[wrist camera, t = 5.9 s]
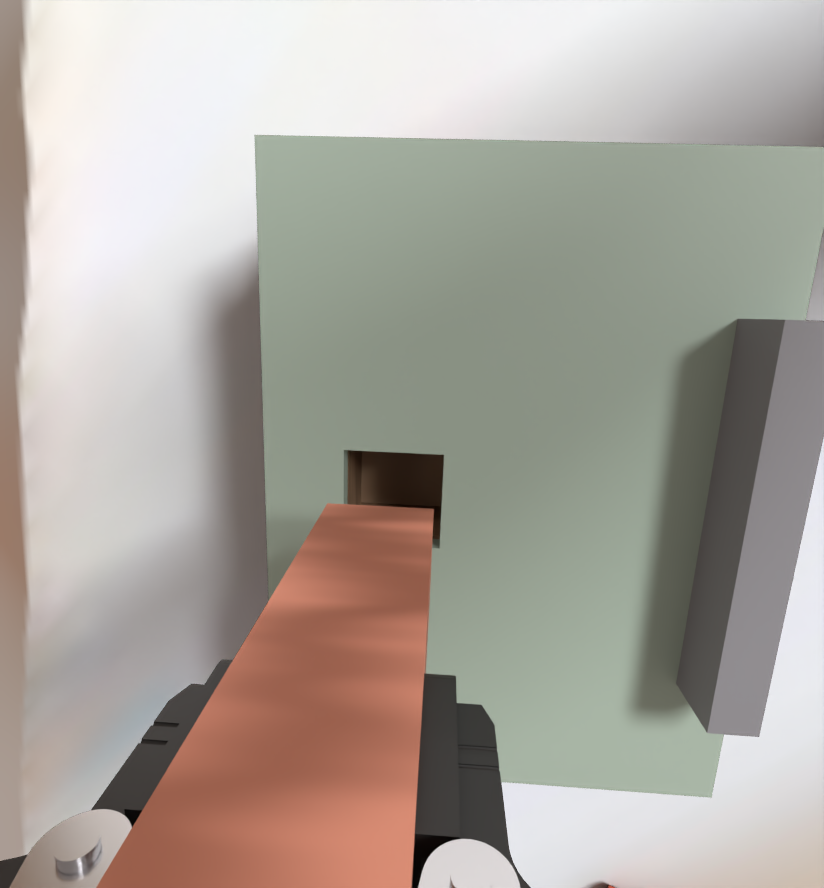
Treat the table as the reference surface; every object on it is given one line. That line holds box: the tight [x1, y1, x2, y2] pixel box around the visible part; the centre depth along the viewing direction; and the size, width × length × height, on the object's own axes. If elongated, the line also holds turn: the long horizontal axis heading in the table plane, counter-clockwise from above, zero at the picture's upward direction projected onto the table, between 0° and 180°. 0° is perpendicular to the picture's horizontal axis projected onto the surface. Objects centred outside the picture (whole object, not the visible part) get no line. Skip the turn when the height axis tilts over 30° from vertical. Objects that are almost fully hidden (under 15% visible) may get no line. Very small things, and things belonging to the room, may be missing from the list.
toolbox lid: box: [255, 135, 824, 797], centre depth 22 cm, size 21×28×4 cm
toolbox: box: [347, 450, 444, 539], centre depth 29 cm, size 20×28×9 cm
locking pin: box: [96, 503, 434, 888], centre depth 12 cm, size 3×3×12 cm
